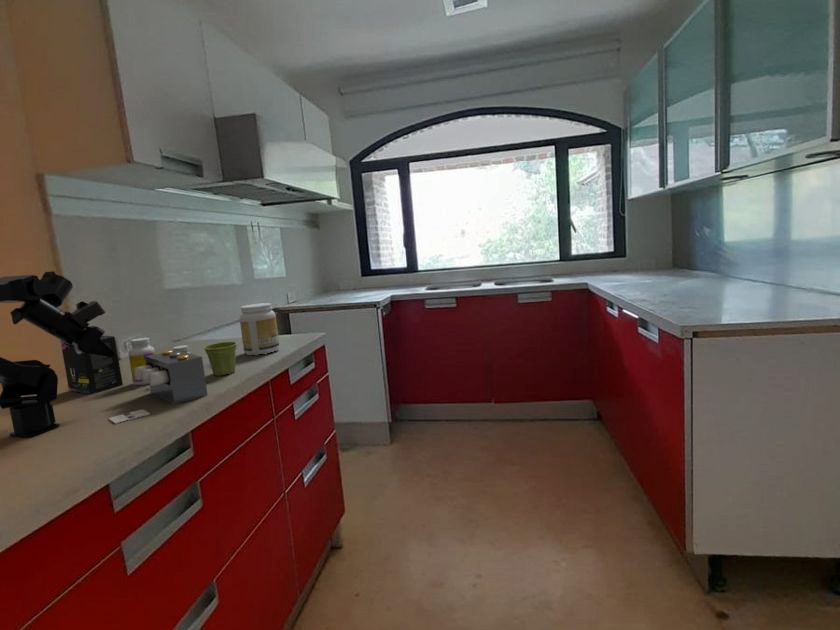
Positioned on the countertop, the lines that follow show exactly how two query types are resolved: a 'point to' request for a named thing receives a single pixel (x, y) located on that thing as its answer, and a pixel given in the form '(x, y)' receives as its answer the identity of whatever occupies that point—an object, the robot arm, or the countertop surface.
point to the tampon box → (92, 369)
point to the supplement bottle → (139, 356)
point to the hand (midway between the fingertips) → (114, 355)
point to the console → (179, 375)
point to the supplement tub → (259, 329)
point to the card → (129, 416)
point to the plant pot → (221, 357)
